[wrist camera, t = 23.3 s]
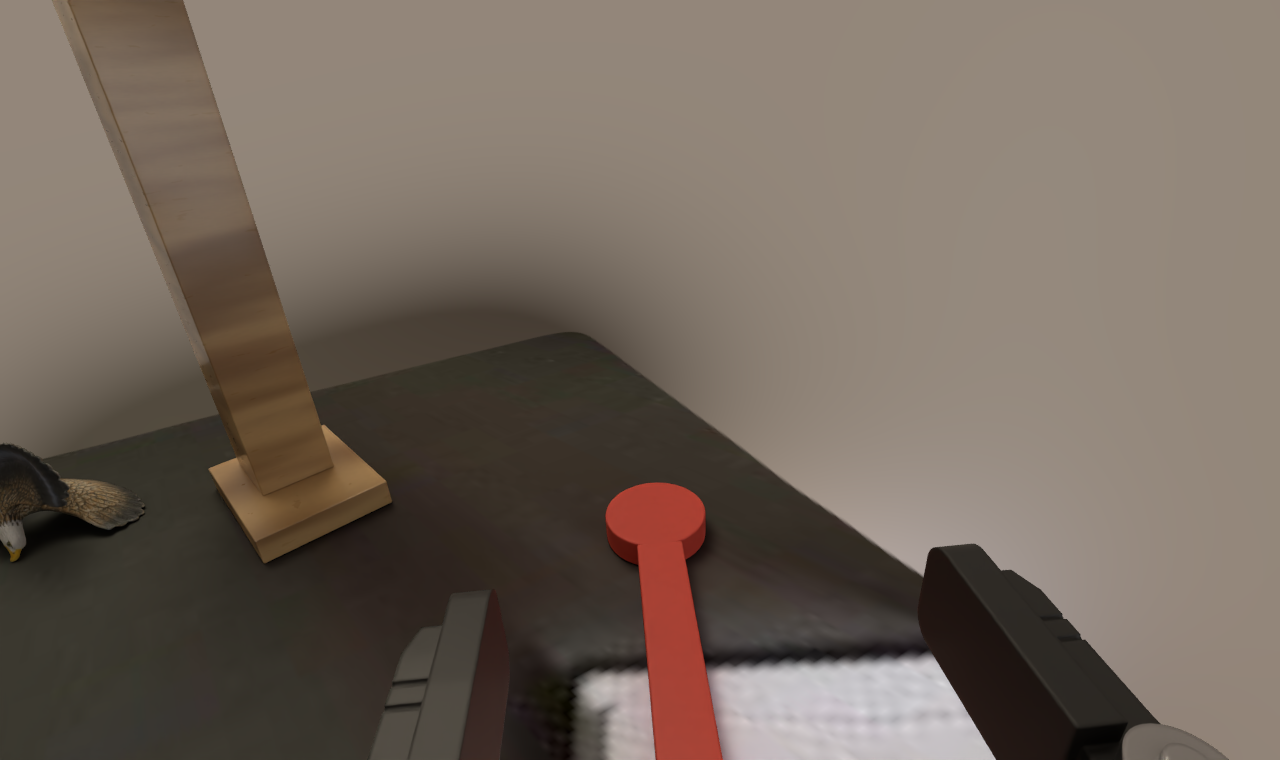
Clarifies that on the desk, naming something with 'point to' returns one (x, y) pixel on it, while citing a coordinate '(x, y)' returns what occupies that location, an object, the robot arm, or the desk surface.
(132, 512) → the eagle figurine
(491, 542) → the desk surface
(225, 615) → the desk surface
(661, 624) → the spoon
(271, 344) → the stand
